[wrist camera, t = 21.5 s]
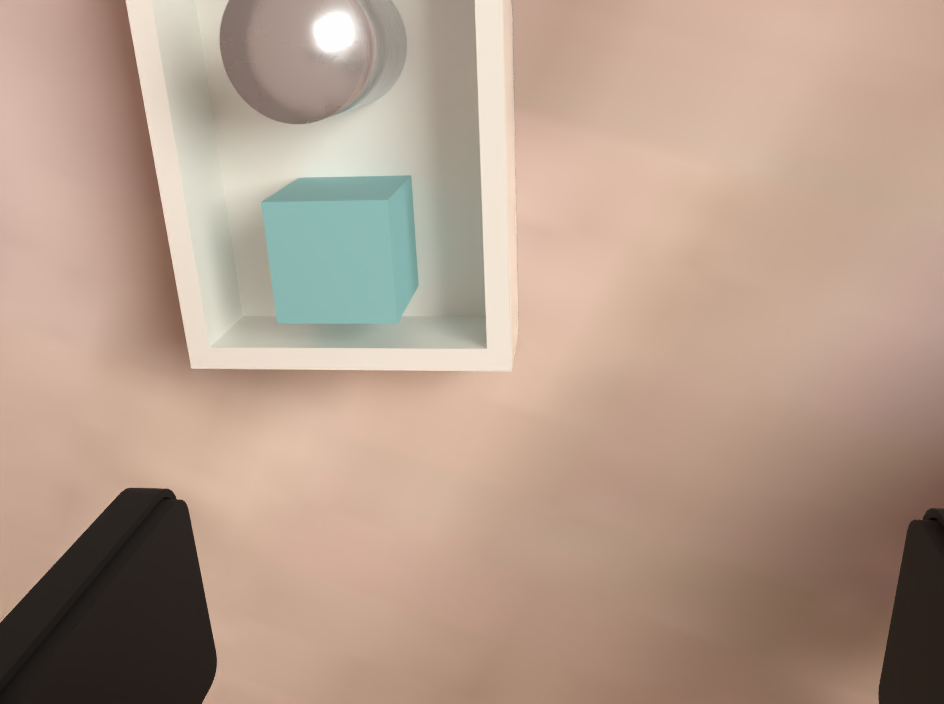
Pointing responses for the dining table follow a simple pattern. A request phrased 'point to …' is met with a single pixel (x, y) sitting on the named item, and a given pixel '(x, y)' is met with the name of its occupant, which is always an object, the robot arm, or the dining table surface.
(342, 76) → the steel cylinder
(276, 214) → the teal cube
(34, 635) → the robot arm
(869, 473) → the dining table surface
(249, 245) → the tote
